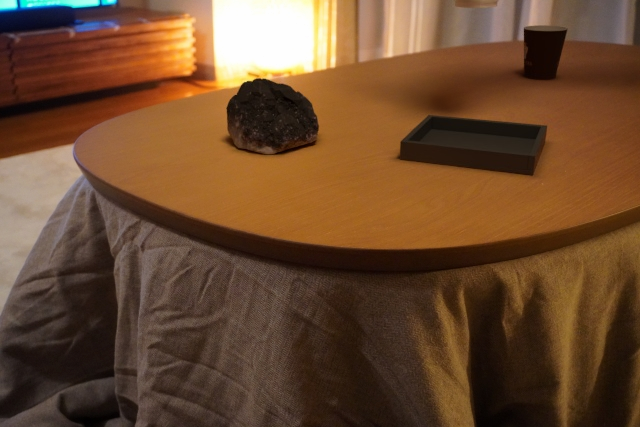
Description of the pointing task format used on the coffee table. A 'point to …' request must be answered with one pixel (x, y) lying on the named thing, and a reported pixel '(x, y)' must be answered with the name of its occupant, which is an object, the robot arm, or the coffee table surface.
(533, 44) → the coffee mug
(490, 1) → the foam cup
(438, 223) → the coffee table surface
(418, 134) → the tray
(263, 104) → the crystal cluster
